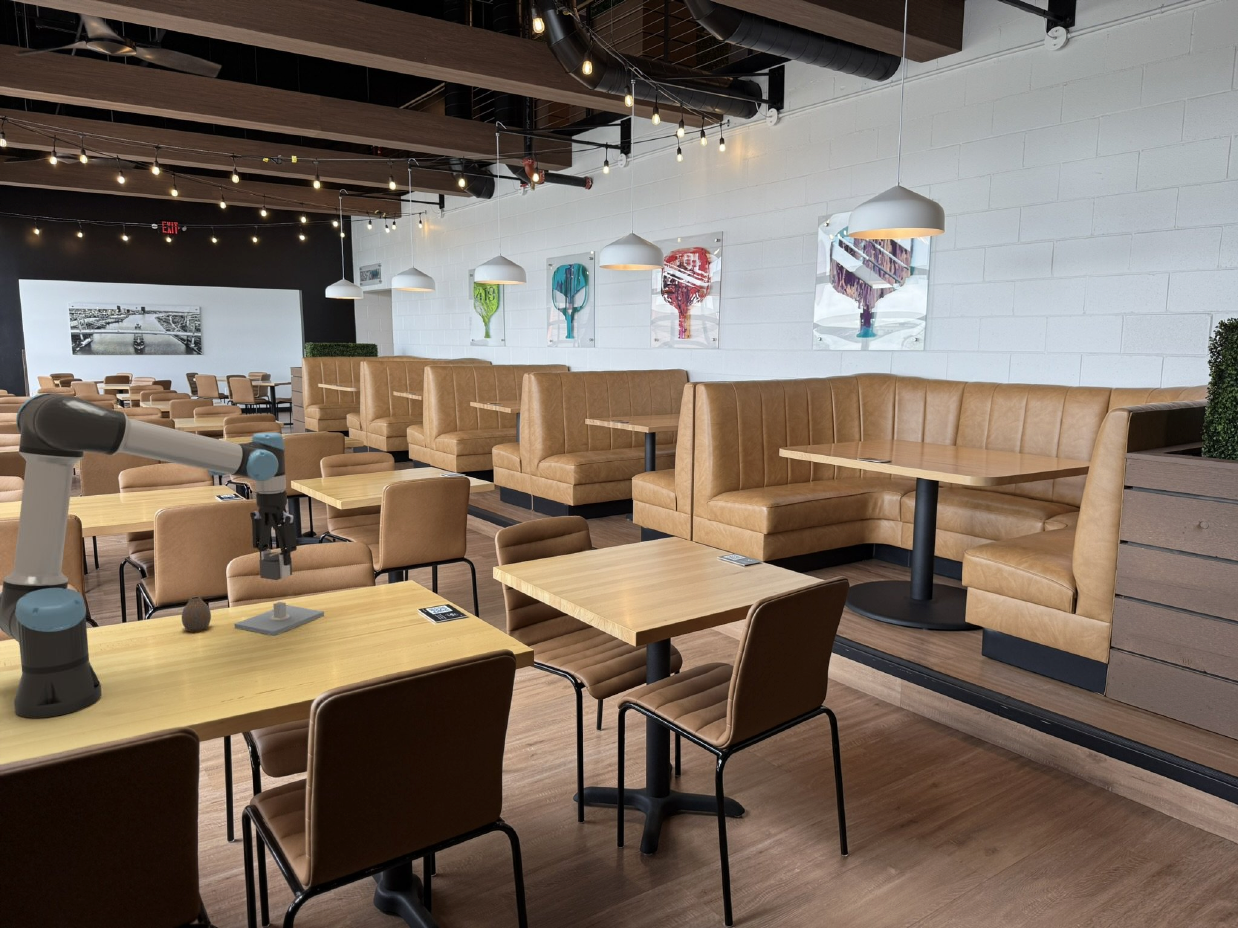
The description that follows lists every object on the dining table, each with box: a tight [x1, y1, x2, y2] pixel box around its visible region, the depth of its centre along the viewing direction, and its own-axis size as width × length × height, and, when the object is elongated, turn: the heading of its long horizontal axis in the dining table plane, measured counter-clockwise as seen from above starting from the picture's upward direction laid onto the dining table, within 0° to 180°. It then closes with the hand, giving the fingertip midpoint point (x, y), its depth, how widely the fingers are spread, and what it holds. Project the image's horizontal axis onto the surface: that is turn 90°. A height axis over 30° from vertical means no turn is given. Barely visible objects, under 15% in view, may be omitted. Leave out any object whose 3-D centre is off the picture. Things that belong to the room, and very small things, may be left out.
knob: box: [259, 550, 293, 581], centre depth 220 cm, size 6×6×6 cm
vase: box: [181, 596, 212, 633], centre depth 217 cm, size 7×7×9 cm
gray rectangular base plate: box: [234, 601, 325, 637], centre depth 224 cm, size 18×14×5 cm
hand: (276, 575), depth 220 cm, fingers closed on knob, 6 cm apart
